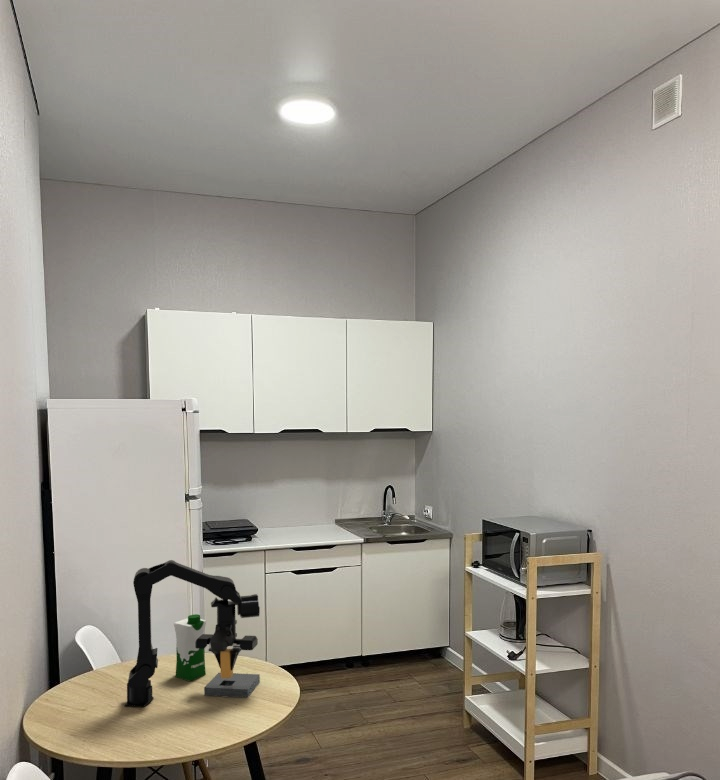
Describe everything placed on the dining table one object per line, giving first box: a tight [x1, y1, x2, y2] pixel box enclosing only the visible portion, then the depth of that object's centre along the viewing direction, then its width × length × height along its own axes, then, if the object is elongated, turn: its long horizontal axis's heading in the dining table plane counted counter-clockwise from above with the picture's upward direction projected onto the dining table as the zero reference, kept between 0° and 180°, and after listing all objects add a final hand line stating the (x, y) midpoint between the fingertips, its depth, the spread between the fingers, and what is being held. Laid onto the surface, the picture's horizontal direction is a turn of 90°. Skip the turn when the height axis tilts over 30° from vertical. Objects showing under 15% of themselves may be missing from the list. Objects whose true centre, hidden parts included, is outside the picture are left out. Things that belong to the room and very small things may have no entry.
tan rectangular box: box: [220, 648, 234, 678], centre depth 211 cm, size 3×3×8 cm
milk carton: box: [173, 614, 207, 682], centre depth 224 cm, size 9×9×20 cm
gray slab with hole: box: [203, 672, 261, 699], centre depth 212 cm, size 14×12×2 cm
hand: (226, 669), depth 211 cm, fingers closed on tan rectangular box, 3 cm apart
